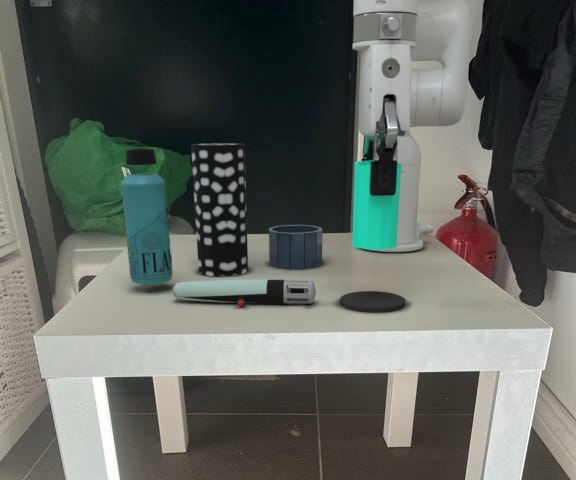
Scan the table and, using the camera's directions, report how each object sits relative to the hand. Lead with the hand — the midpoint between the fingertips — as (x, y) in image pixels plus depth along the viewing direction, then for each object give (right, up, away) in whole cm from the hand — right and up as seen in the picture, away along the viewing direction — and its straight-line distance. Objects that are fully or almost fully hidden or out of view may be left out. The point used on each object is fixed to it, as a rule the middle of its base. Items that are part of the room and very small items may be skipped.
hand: (377, 191), depth 83 cm
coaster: (0, -14, +6) cm, 15 cm away
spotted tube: (-22, -6, +25) cm, 34 cm away
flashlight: (-18, -14, +6) cm, 23 cm away
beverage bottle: (-32, -11, +14) cm, 37 cm away
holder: (-10, -4, +30) cm, 32 cm away
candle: (0, -7, +3) cm, 7 cm away
